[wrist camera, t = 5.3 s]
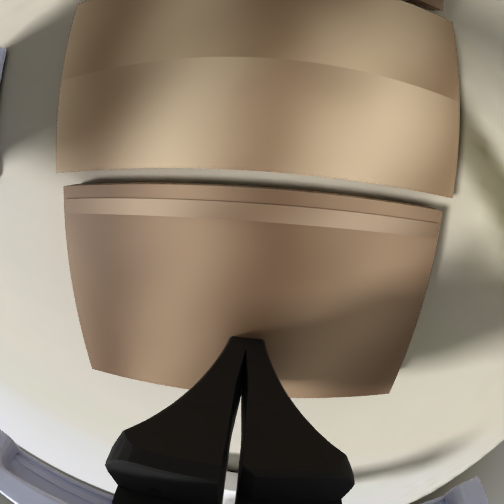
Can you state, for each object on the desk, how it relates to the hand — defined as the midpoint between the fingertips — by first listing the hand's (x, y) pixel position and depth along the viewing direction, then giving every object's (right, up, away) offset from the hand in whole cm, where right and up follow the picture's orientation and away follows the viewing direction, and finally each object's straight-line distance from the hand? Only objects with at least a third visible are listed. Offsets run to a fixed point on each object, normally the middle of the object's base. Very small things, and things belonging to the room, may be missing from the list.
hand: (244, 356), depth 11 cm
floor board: (+1, +11, -3) cm, 11 cm away
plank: (0, +2, 0) cm, 2 cm away
